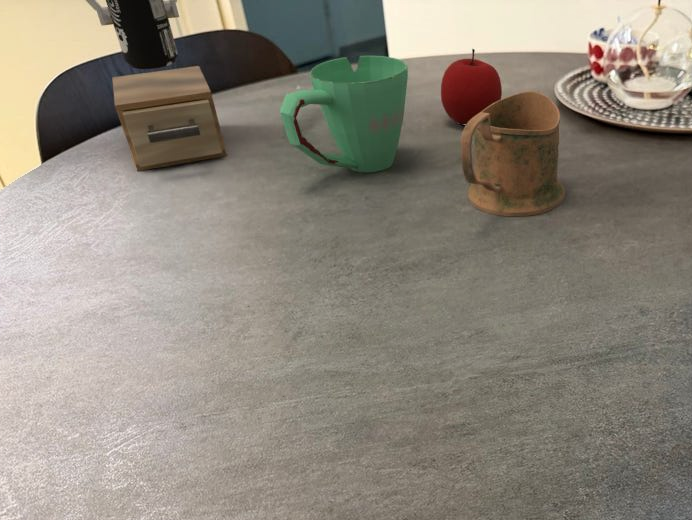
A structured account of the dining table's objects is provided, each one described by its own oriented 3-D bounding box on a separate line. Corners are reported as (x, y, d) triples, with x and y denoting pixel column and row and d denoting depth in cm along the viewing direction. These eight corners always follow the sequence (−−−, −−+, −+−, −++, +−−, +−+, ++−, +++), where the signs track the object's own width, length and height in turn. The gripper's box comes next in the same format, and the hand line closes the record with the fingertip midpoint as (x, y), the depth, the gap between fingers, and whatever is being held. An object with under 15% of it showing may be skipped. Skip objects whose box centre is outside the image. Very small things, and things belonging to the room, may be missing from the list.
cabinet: (227, 155, 96) (210, 91, 90) (137, 171, 92) (114, 105, 87) (214, 125, 106) (198, 65, 100) (132, 138, 102) (112, 77, 97)
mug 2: (423, 226, 77) (414, 118, 70) (494, 169, 90) (493, 71, 82) (517, 248, 73) (518, 134, 66) (579, 184, 85) (585, 82, 78)
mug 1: (374, 140, 99) (363, 50, 91) (434, 160, 92) (427, 65, 85) (270, 181, 88) (248, 83, 81) (329, 206, 82) (312, 102, 75)
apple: (431, 117, 106) (427, 47, 100) (484, 107, 109) (483, 38, 103) (457, 136, 99) (454, 62, 93) (513, 124, 102) (513, 52, 96)
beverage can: (118, 64, 92) (84, -40, 85) (164, 54, 96) (136, -47, 88) (141, 73, 88) (108, -35, 81) (188, 62, 92) (161, -42, 85)
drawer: (226, 163, 91) (213, 111, 87) (142, 178, 88) (123, 124, 84) (210, 124, 103) (198, 76, 99) (135, 136, 100) (119, 87, 96)
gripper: (192, -117, 86) (220, 7, 94) (6, -107, 79) (54, 25, 88) (198, -114, 81) (227, 16, 90) (1, -103, 75) (52, 35, 83)
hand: (140, 20), depth 89 cm, fingers closed on beverage can, 6 cm apart
